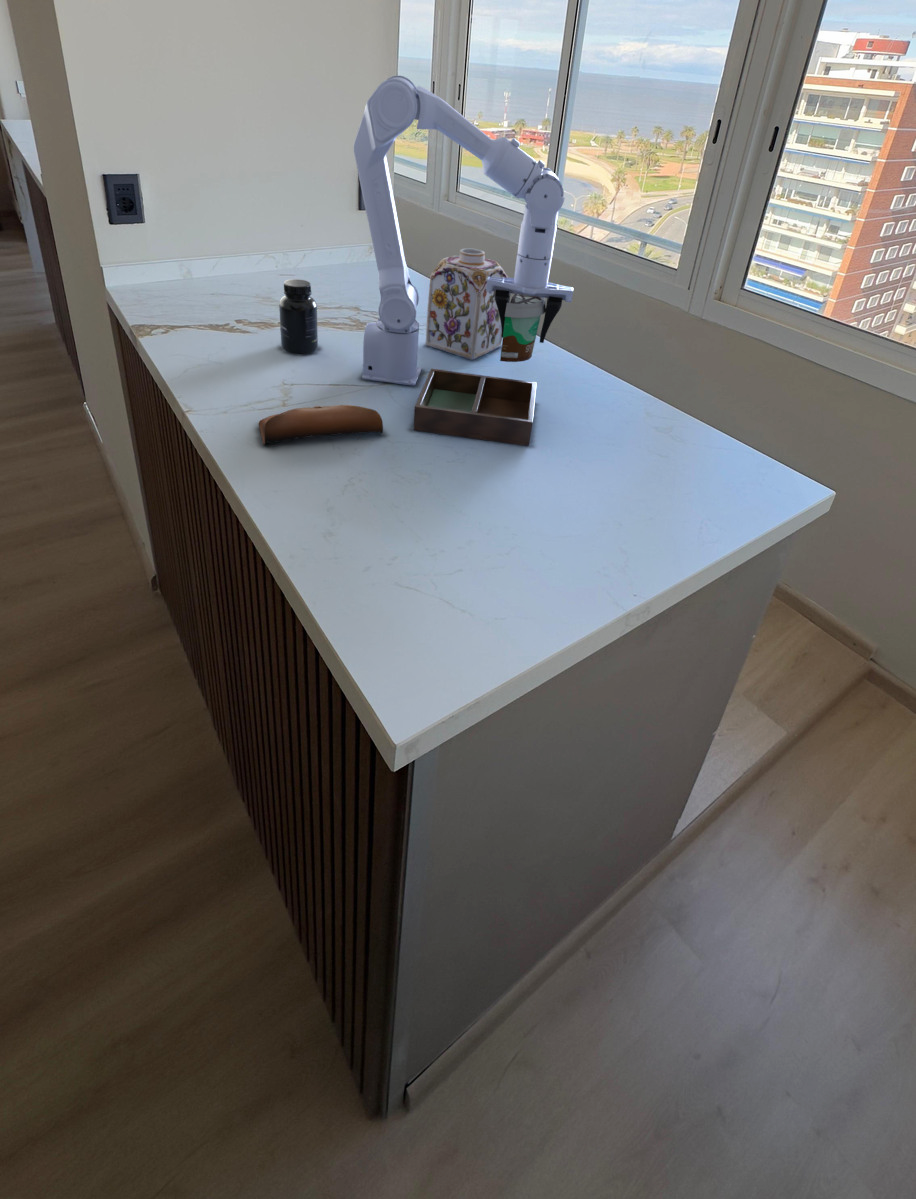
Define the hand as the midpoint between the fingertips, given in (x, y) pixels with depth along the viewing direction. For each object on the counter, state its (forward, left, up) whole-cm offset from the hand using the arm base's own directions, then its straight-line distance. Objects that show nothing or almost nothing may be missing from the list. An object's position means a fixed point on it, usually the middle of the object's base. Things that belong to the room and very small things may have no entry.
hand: (522, 338), depth 127 cm
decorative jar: (-12, +17, -9) cm, 23 cm away
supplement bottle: (-42, +4, -9) cm, 43 cm away
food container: (0, 0, -3) cm, 3 cm away
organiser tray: (-6, -16, -9) cm, 19 cm away
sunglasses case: (-29, -29, -9) cm, 42 cm away
